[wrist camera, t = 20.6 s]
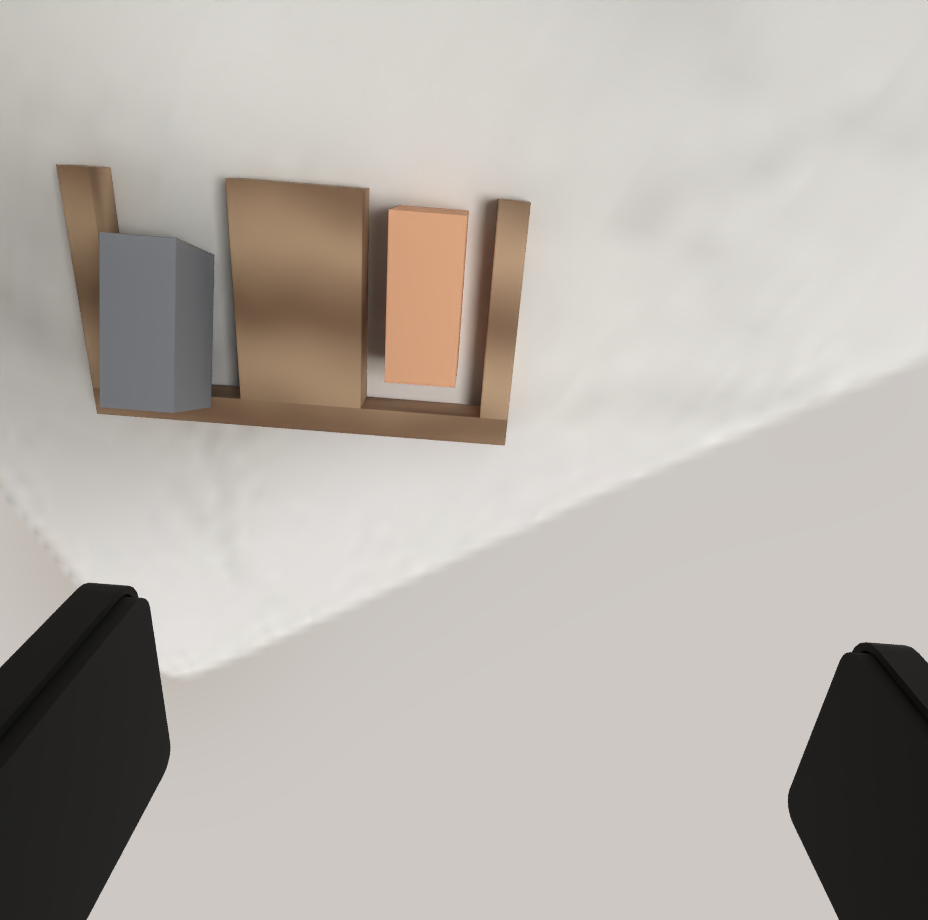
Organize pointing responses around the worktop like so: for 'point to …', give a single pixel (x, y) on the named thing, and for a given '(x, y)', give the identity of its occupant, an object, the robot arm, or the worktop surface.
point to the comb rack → (308, 311)
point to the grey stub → (155, 323)
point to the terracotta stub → (424, 294)
